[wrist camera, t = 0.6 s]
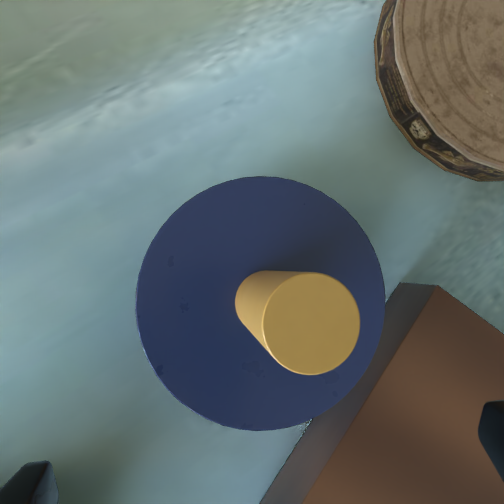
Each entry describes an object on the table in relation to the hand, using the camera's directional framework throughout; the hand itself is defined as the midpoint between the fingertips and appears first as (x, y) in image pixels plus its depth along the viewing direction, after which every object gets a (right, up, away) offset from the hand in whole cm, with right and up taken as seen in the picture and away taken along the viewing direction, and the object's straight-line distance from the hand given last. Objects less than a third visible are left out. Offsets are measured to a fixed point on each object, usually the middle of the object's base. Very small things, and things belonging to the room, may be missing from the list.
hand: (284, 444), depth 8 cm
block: (+9, -9, +17) cm, 21 cm away
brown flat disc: (+15, +16, +19) cm, 29 cm away
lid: (0, +2, +10) cm, 10 cm away
